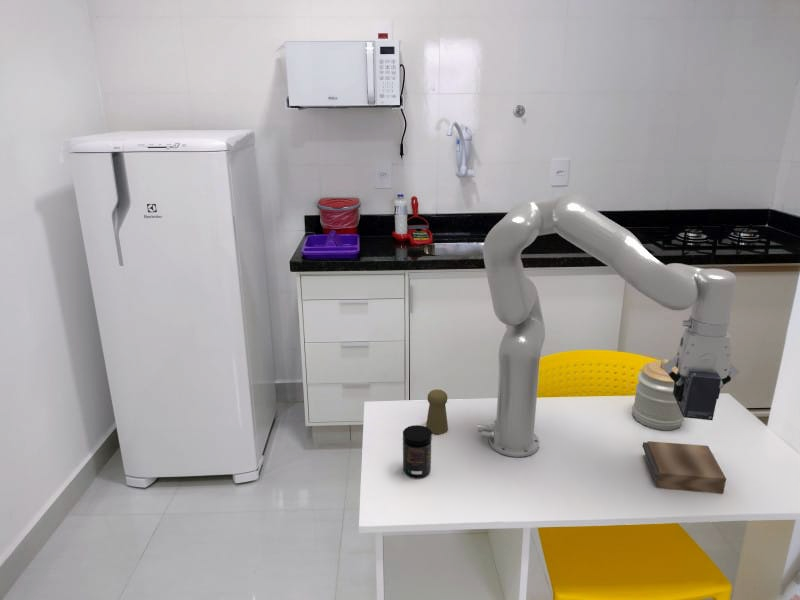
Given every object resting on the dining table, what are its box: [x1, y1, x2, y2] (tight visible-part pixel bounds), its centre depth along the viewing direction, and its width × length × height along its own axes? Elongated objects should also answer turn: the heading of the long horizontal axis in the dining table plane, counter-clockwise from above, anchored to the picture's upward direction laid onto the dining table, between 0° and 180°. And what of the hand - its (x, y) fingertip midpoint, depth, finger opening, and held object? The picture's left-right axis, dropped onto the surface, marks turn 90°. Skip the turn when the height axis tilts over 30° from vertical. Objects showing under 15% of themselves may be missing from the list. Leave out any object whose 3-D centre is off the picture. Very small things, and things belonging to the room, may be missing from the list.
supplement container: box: [402, 424, 433, 479], centre depth 146 cm, size 7×7×10 cm
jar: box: [632, 358, 685, 431], centre depth 167 cm, size 13×13×18 cm
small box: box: [675, 371, 721, 421], centre depth 139 cm, size 11×6×10 cm, turn 169°
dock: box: [641, 440, 727, 494], centre depth 146 cm, size 15×13×4 cm
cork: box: [425, 389, 449, 436], centre depth 163 cm, size 6×6×11 cm
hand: (694, 399), depth 140 cm, fingers closed on small box, 6 cm apart
